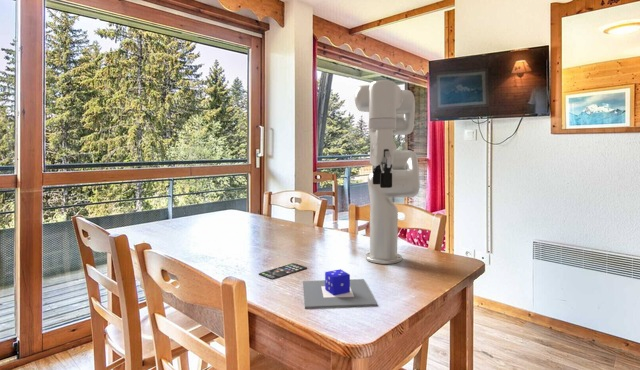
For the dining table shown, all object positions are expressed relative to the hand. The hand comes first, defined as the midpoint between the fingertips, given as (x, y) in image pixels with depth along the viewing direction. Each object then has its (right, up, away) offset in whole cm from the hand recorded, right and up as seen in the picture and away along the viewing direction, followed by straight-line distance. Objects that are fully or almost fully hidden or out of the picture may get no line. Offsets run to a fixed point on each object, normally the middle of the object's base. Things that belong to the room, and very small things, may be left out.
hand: (381, 185), depth 109 cm
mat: (-13, -29, -6) cm, 33 cm away
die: (-13, -29, -6) cm, 32 cm away
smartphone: (-30, -28, +13) cm, 43 cm away
